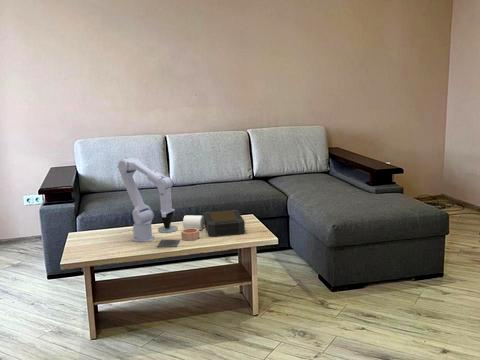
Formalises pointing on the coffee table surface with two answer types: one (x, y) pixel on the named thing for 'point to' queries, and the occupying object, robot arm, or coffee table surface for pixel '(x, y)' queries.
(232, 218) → the cash box
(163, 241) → the mat
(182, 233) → the bowl
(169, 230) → the lid
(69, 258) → the coffee table surface
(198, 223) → the mug
